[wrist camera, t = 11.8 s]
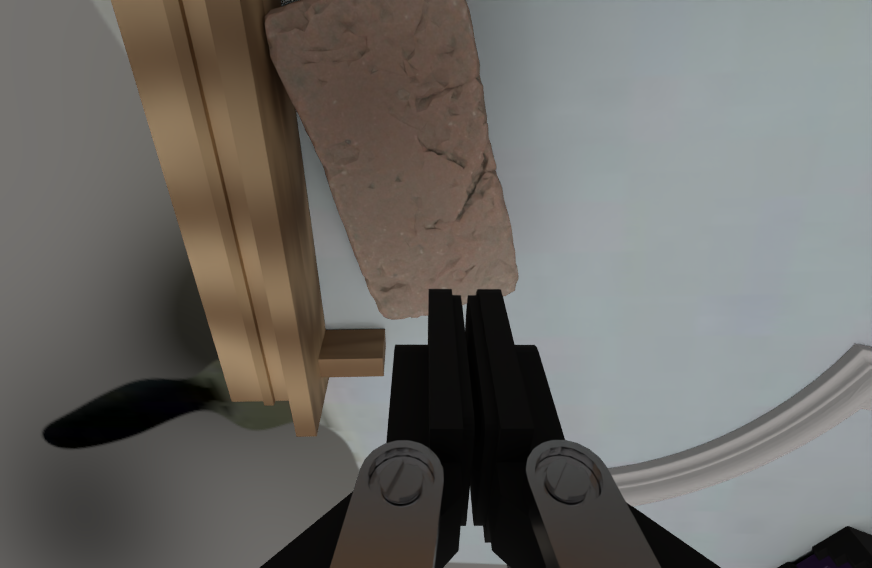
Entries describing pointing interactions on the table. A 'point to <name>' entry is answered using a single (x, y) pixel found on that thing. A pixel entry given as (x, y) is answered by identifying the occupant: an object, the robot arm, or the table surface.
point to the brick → (400, 142)
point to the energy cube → (840, 551)
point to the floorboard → (241, 198)
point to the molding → (756, 435)
